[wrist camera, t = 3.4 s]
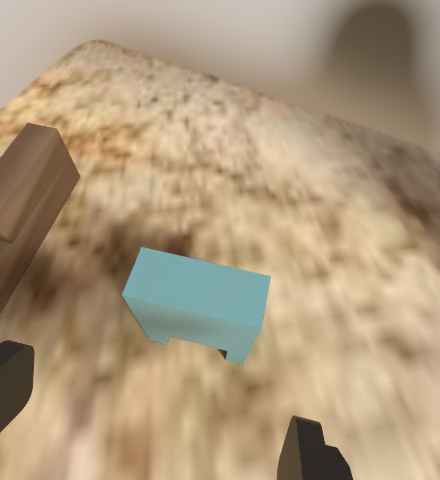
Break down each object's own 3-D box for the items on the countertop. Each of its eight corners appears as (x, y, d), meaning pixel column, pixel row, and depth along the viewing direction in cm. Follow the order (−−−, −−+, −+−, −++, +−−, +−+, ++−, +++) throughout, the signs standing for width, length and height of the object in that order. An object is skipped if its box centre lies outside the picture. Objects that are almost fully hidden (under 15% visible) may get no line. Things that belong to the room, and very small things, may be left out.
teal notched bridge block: (250, 326, 22) (270, 276, 15) (242, 364, 20) (261, 328, 14) (161, 305, 22) (141, 246, 15) (149, 340, 21) (121, 294, 14)
